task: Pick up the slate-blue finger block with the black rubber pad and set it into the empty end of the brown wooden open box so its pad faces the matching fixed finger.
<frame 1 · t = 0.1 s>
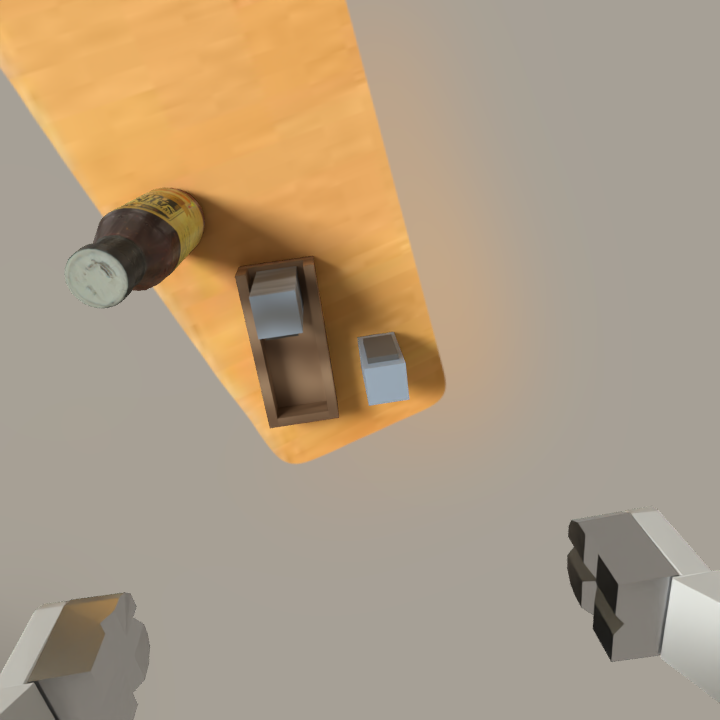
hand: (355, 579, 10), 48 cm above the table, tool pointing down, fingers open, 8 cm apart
brown wooden open box: (291, 338, 60), on the table
finger block: (377, 351, 61), on the table
sauce bottle: (172, 218, 54), on the table
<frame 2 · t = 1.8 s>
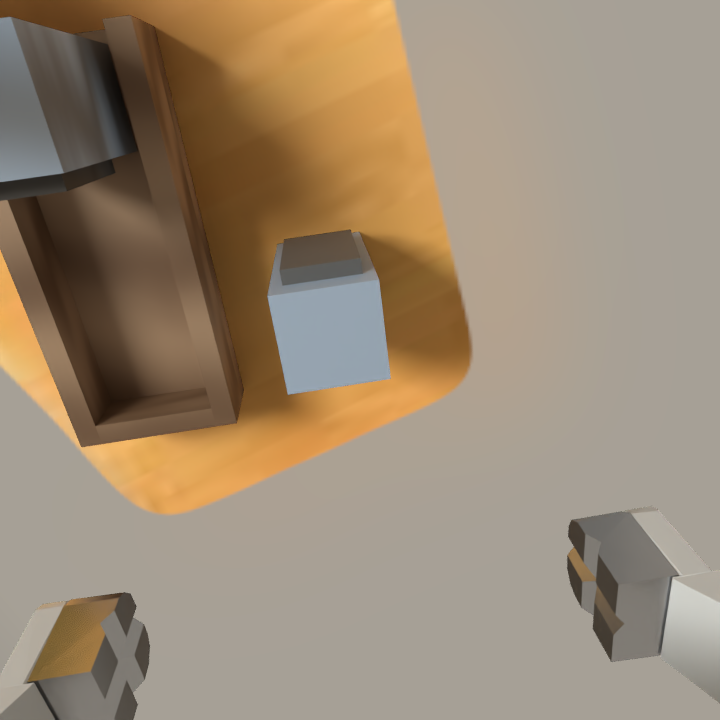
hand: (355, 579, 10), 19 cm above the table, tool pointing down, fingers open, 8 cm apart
brown wooden open box: (126, 244, 26), on the table
finger block: (324, 277, 28), on the table
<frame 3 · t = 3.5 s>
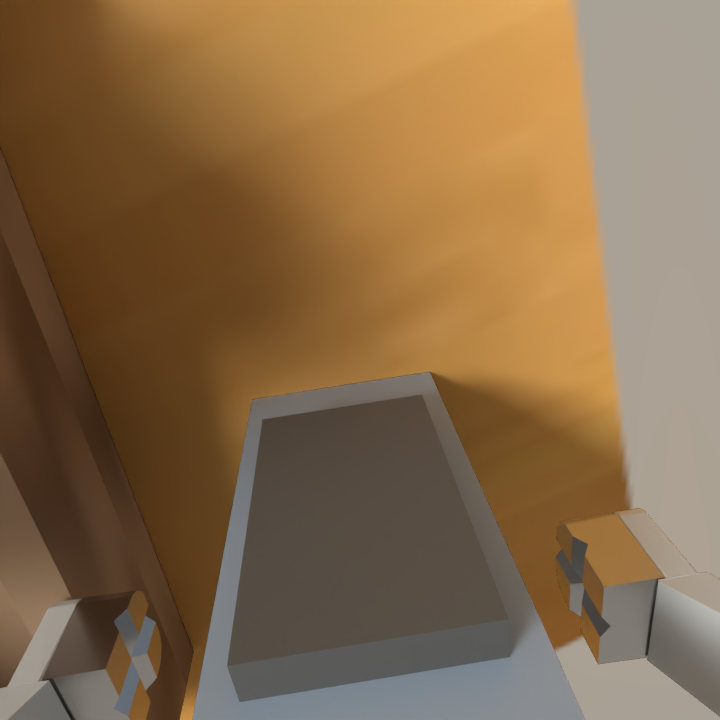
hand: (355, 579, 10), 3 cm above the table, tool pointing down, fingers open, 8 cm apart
finger block: (353, 459, 13), on the table
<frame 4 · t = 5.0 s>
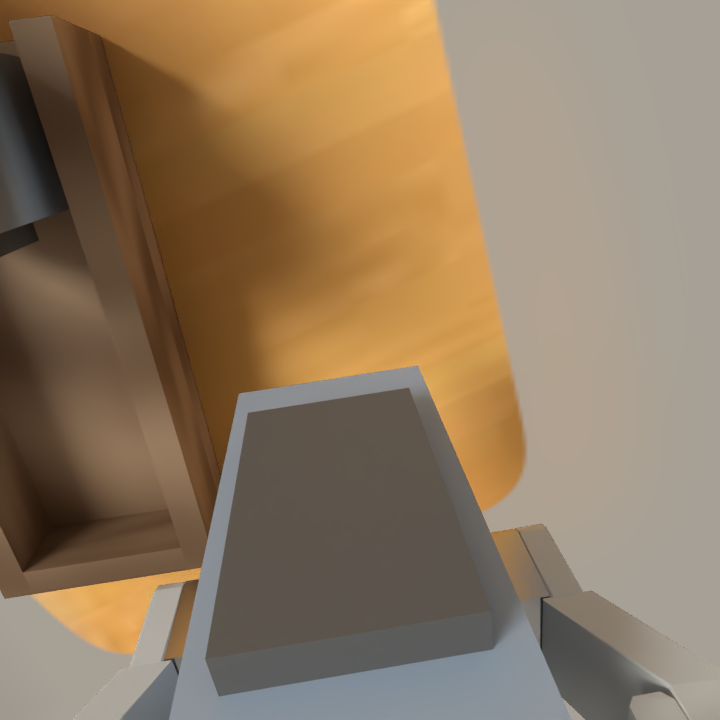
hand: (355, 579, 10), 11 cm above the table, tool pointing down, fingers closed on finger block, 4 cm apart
brown wooden open box: (68, 326, 20), on the table
finger block: (341, 453, 13), point 8 cm above the table, touching gripper
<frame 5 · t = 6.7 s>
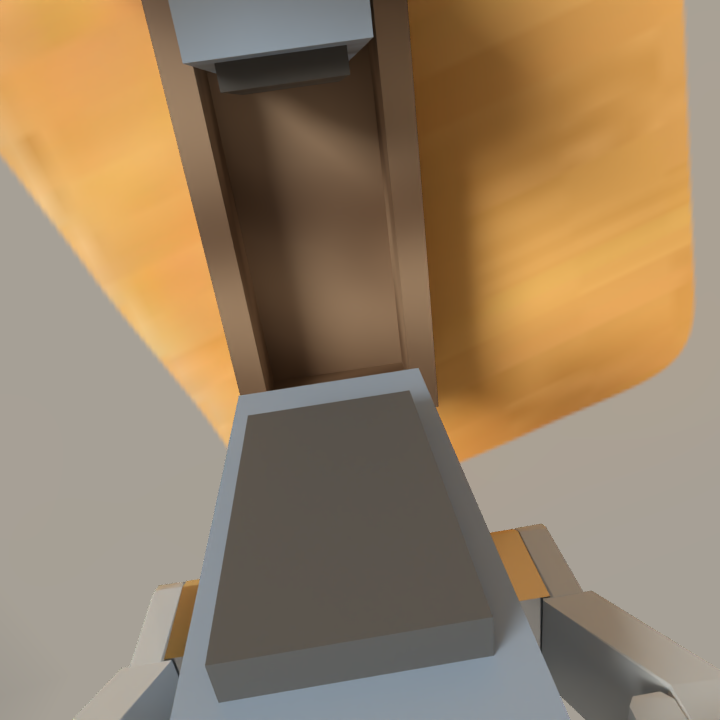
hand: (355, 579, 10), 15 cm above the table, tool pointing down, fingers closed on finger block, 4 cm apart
brown wooden open box: (308, 187, 21), on the table
finger block: (341, 456, 13), point 11 cm above the table, touching gripper
when the fingers open (5 cm above the table, at t = 8.6 s): finger block stays where it is, resting on brown wooden open box.
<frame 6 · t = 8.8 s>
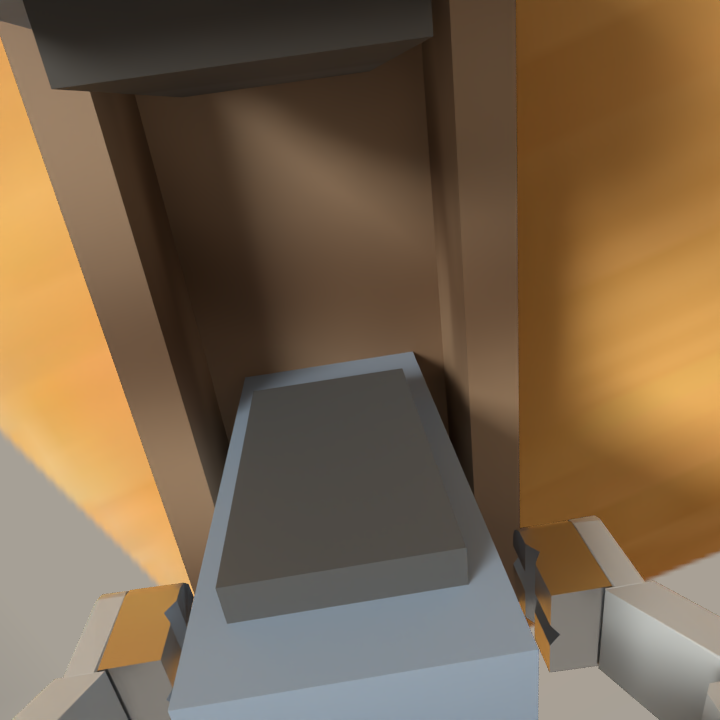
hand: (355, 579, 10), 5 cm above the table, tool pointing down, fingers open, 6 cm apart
brown wooden open box: (310, 249, 13), on the table
finger block: (341, 435, 14), point 1 cm above the table, touching brown wooden open box
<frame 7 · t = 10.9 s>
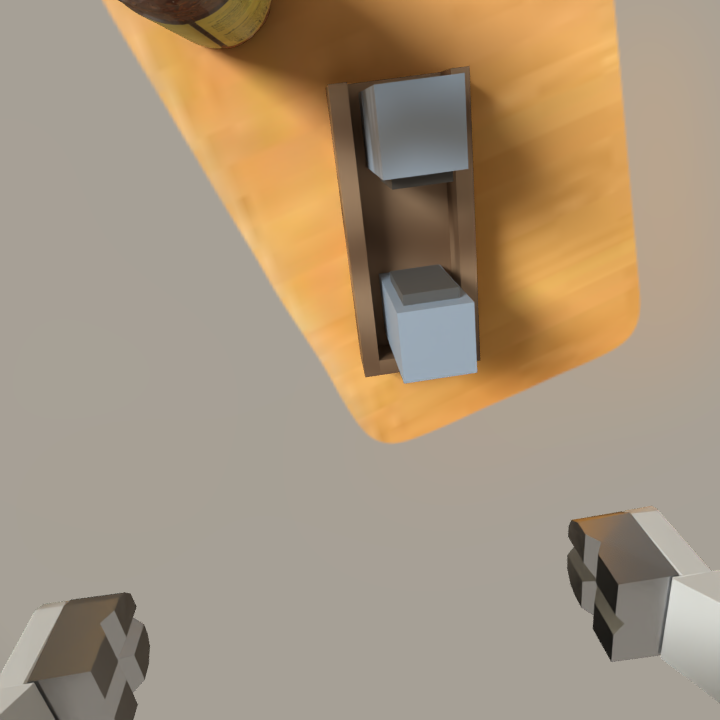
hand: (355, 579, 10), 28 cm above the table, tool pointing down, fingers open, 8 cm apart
brown wooden open box: (403, 227, 36), on the table
finger block: (412, 299, 37), point 1 cm above the table, touching brown wooden open box
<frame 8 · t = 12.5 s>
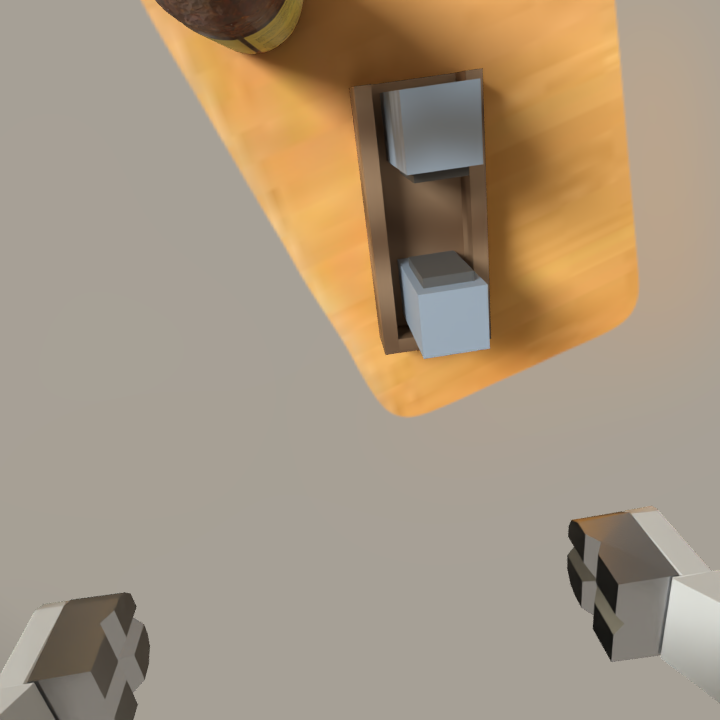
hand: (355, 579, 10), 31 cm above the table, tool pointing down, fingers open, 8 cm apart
brown wooden open box: (419, 216, 39), on the table
finger block: (427, 282, 40), point 1 cm above the table, touching brown wooden open box
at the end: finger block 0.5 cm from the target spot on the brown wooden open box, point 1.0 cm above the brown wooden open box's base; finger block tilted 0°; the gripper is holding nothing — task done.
